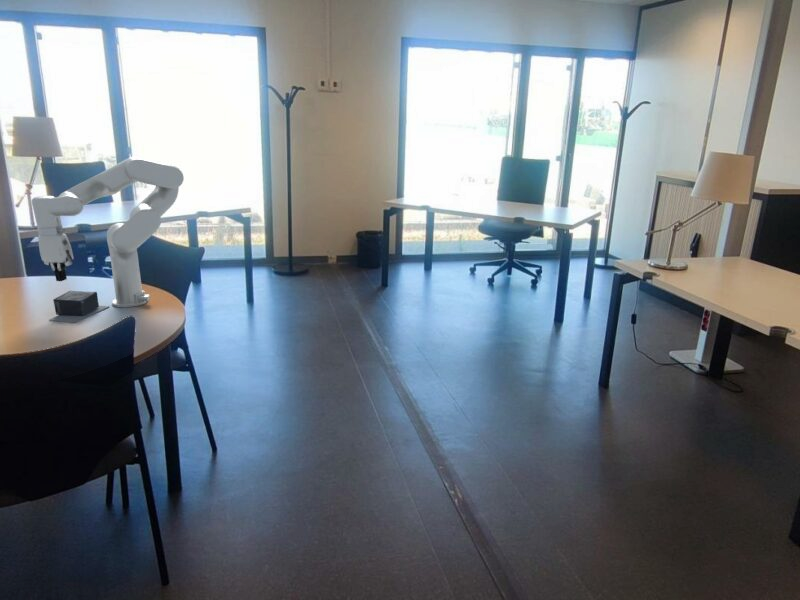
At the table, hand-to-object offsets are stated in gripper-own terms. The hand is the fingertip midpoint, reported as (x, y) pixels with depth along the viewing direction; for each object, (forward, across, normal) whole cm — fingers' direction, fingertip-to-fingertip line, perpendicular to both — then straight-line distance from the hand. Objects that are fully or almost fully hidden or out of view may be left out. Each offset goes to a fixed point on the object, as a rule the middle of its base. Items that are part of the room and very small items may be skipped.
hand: (61, 280), depth 201 cm
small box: (+9, +1, +1) cm, 9 cm away
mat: (+12, -6, +1) cm, 14 cm away
